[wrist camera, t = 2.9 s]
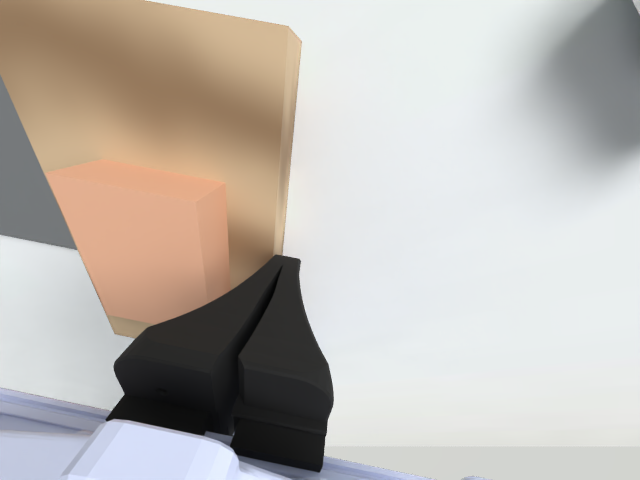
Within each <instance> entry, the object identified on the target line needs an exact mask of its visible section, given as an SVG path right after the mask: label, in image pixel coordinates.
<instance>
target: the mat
mask: <svg viewBox="0 0 640 480" xmlns="http://www.w3.org/2000/svg"><path fill="white" fill-rule="evenodd" d="M0 235H5V236H10V237H15V238H21V239H26V240H31V241H36V242H41V243H46V244H51V245H56V246H61V247H66V248H71V249H76V250H78V249H77V247H76V245H75V243H74V240H73V238H72V236H71V234H70V231H69V229H68V227H67V224H66V222H65V220H64V218H63V215H62V213H61V211H60V209H59V206H58V204H57V202H56V200H55V197H54V195H53V193H52V190H51V188H50V186H49V184H48V181H47V179H46V177H45V175H44V172H43V170H42V168H41V166H40V163H39V161H38V159H37V156H36V154H35V152H34V150H33V147H32V145H31V143H30V141H29V138H28V136H27V134H26V132H25V129H24V127H23V125H22V122H21V120H20V118H19V116H18V113H17V111H16V109H15V107H14V104H13V102H12V100H11V98H10V95H9V93H8V91H7V88H6V86H5V84H4V82H3V79H2V77H1V75H0Z"/></svg>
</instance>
